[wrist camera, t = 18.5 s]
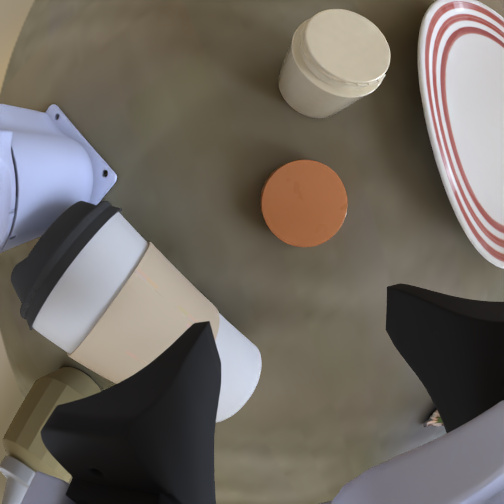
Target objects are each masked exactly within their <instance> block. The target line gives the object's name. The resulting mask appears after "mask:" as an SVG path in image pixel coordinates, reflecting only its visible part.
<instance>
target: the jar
mask: <svg viewBox="0 0 504 504" xmlns="http://www.w3.org/2000/svg"><path fill="white" fill-rule="evenodd" d="M389 64H390V49H389V46H388V43H387V41H386V39H385V37H384V35H383V34H382V32H381V31H380V30H379V29H378V28H377V27H376V26H375V25H374V24H373V23H372V22H371V21H369V20H368V19H367V18H365V17H363V16H361V15H359V14H357V13H355V12H352V11H348V10H344V9H328V10H324V11H321V12H319V13H317V14H316V15H314V16H313V17H312V18H310V19H308V20H306V21H305V22H303V23H302V24H301V25H300V26H299V27H298V28H297V30H296V31H295V33H294V35H293V38H292V40H291V43H290V46H289V48H288V51H287V54H286V57H285V59H284V62H283V65H282V67H281V70H280V73H279V80H278V82H279V89H280V92H281V94H282V96H283V98H284V99H285V101H286V102H287V103H288V104H289V105H290V106H291V107H292V108H293V109H294V110H296V111H297V112H299V113H301V114H303V115H305V116H309V117H313V118H326V117H330V116H333V115H335V114H337V113H339V112H340V111H342V110H343V109H345V108H347V107H348V106H350V105H352V104H353V103H355V102H357V101H358V100H360V99H362V98H363V97H365V96H367V95H368V94H370V93H372V92H373V91H374V90H376V89H377V88H378V87H379V85H380V84H381V83H382V80H383V78H384V77H385V76H386V75H385V72H386V71H387V69H388V67H389Z"/></svg>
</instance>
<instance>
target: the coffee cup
mask: <svg viewBox="0 0 504 504" xmlns="http://www.w3.org/2000/svg"><path fill="white" fill-rule="evenodd" d="M120 211H121V209H120V208H116V207H112V206H111V204H110V203H109V202H108V201H102V202H100V203H98V204H97V205H94V204H91V203H88V202H85V201H78V202H76V203H75V204H73V205H72V206H71V207H69V208H68V209H67V210H66V211H65V212H63V213H62V214H61V215H60V216H59V217H58V218H57V219H56V220H55V221H54V223H53V224H52V225H51V226H50V227H49V228H48V229H47V231H46V232H45V233H44V234H43V235H42V237H41V238H40V239H39V241H38V242H37V243H36V245H35V246H34V248H33V249H32V251H31V252H30V254H29V256H28V257H27V258H25V259H24V260H23V261H21V262H20V263H18V264H17V265H16V266H15V267H14V269H13V272H12V275H11V282H12V284H13V286H14V289H15V291H16V293H17V295H18V297H19V299H20V301H21V303H22V305H21V309H20V314H21V317H22V318H24V319H27V322H28V325H29V327H30V330H32V329H33V328H34V329H35V330H37V331H38V332H39V333H41V334H42V335H43V336H45V337H46V338H47V339H49V340H50V341H52V342H53V343H55V344H56V345H57V346H59V347H60V348H62V349H63V350H65V351H66V352H68V353H67V355H68V356H69V357H71V358H72V359H74V360H75V361H77V362H79V363H80V364H82V365H84V366H85V367H87V368H89V369H90V370H92V371H94V372H95V373H97V374H99V375H101V376H103V377H104V378H106V379H108V380H110V381H112V382H114V383H116V384H118V383H120V382H121V381H123V380H125V379H127V378H129V377H131V376H132V375H134V374H135V373H137V372H138V371H140V370H141V369H143V368H144V367H146V366H147V365H148V364H150V363H151V362H152V361H153V360H155V359H156V358H157V357H158V356H159V355H160V354H162V353H163V352H164V351H165V350H166V349H167V348H169V347H170V346H171V345H172V344H173V343H174V342H175V341H176V340H177V339H178V338H179V337H180V336H181V335H182V334H183V333H184V332H185V331H186V330H187V329H188V328H189V327H190V326H191V325H193V324H194V323H198V322H205V321H210V325H211V328H212V332H213V335H214V339H215V343H216V346H217V350H218V353H219V357H220V360H221V389H220V396H219V403H218V410H217V416H216V422H220V421H223V420H225V419H227V418H229V417H231V416H232V415H233V414H235V413H236V412H237V411H238V410H239V409H241V408H242V406H243V405H244V404H245V403H246V402H247V401H248V399H249V398H250V396H251V395H252V393H253V391H254V389H255V387H256V385H257V383H258V380H259V377H260V373H261V365H262V361H261V355H260V352H259V350H258V348H257V347H256V346H255V345H254V344H253V343H252V342H251V341H249V340H248V339H247V338H246V337H245V336H244V335H243V334H241V333H240V332H239V331H238V330H237V329H236V328H235V327H234V326H233V325H231V324H230V323H229V322H228V321H227V320H226V319H225V318H224V317H223V316H222V315H221V314H219V312H218V310H217V308H216V307H215V306H214V305H213V304H212V303H211V302H210V301H209V300H208V299H207V298H206V297H205V296H204V295H203V294H202V293H201V292H200V291H198V290H197V289H196V288H195V287H194V286H193V285H192V284H191V283H190V282H189V281H188V280H187V279H186V278H185V277H184V276H183V275H182V274H181V273H180V272H179V271H178V270H177V269H176V268H175V267H174V266H173V265H172V264H171V263H170V262H169V261H168V260H167V258H166V257H165V256H164V255H163V254H162V253H161V252H160V251H159V250H158V249H157V248H156V247H155V246H154V245H153V244H152V243H151V242H150V241H148V242H146V241H145V240H144V239H143V237H142V236H141V235H140V234H139V233H138V232H137V231H136V230H135V229H134V228H133V227H132V226H131V225H130V224H129V223H128V221H127V220H126V219H125V218H124V217H123V216H122V215H121V214H120Z"/></svg>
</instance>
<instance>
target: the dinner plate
mask: <svg viewBox="0 0 504 504" xmlns="http://www.w3.org/2000/svg"><path fill="white" fill-rule="evenodd" d="M417 51H418V63H417V64H418V76H419V86H420V93H421V99H422V106H423V111H424V116H425V121H426V126H427V130H428V134H429V138H430V142H431V146H432V149H433V153H434V157H435V161H436V164H437V167H438V170H439V173H440V176H441V179H442V182H443V185H444V188H445V190H446V193H447V196H448V198H449V201H450V203H451V205H452V208H453V210H454V212H455V214H456V217H457V218H458V220H459V222H460V224H461V226H462V228H463V230H464V232H465V234H466V235H467V237H468V238H469V240H470V241H471V243H472V244H473V246H474V247H475V248H476V249H477V250H478V252H479V253H480V254H481V255H482V256H483V257H484V258H485V259H487V260H488V261H489V262H491V263H492V264H494V265H495V266H497V267H500V268H503V269H504V18H503V17H502V16H500V15H499V14H498V13H497V12H495V11H494V10H492V9H491V8H489V7H488V6H486V5H485V4H483V3H481V2H479V1H477V0H436V1H435V2H434V3H432V4H431V5H430V7H429V8H428V9H427V11H426V13H425V14H424V17H423V19H422V22H421V26H420V30H419V38H418V48H417Z"/></svg>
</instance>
